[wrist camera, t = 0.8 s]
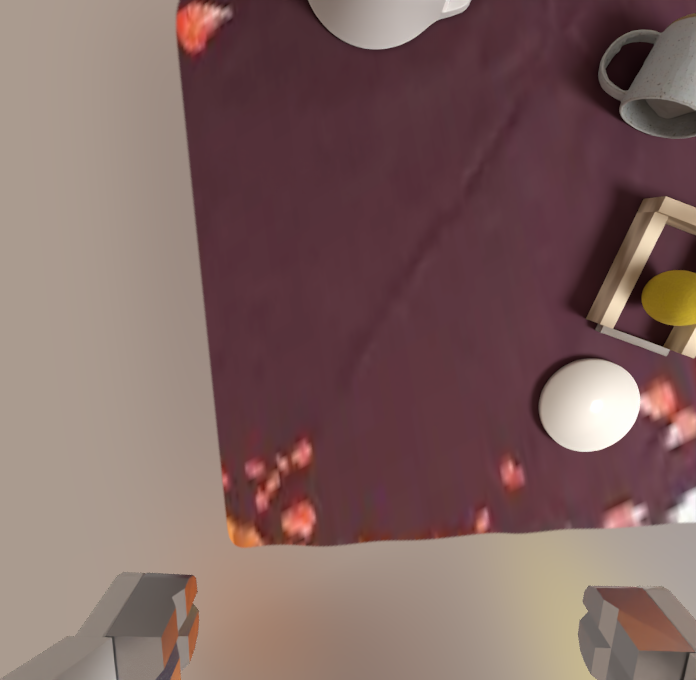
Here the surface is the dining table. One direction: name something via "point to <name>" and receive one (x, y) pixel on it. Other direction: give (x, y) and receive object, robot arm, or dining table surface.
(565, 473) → the dining table surface
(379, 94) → the dining table surface
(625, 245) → the wooden rectangular frame
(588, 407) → the saucer
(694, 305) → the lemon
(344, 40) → the robot arm
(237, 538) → the dining table surface
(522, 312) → the dining table surface
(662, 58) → the ceramic mug
